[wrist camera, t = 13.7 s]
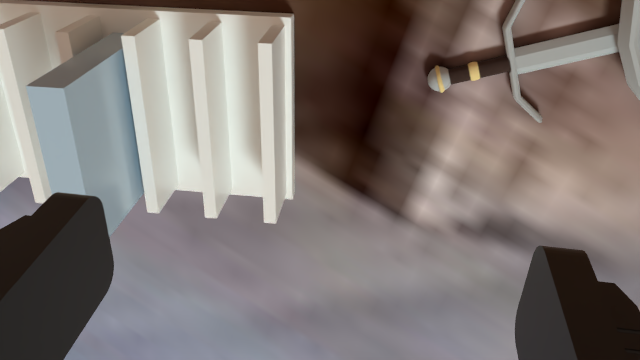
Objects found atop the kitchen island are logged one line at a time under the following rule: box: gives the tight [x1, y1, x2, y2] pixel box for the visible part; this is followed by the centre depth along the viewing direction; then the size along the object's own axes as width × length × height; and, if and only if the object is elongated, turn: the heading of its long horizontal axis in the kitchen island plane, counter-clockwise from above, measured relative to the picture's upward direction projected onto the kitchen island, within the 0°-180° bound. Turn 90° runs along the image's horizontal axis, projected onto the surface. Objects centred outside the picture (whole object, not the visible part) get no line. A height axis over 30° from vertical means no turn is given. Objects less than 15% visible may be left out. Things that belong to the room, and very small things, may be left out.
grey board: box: [26, 33, 144, 237], centre depth 36 cm, size 10×2×10 cm, turn 179°
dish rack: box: [0, 0, 295, 224], centre depth 39 cm, size 13×22×5 cm, turn 89°
